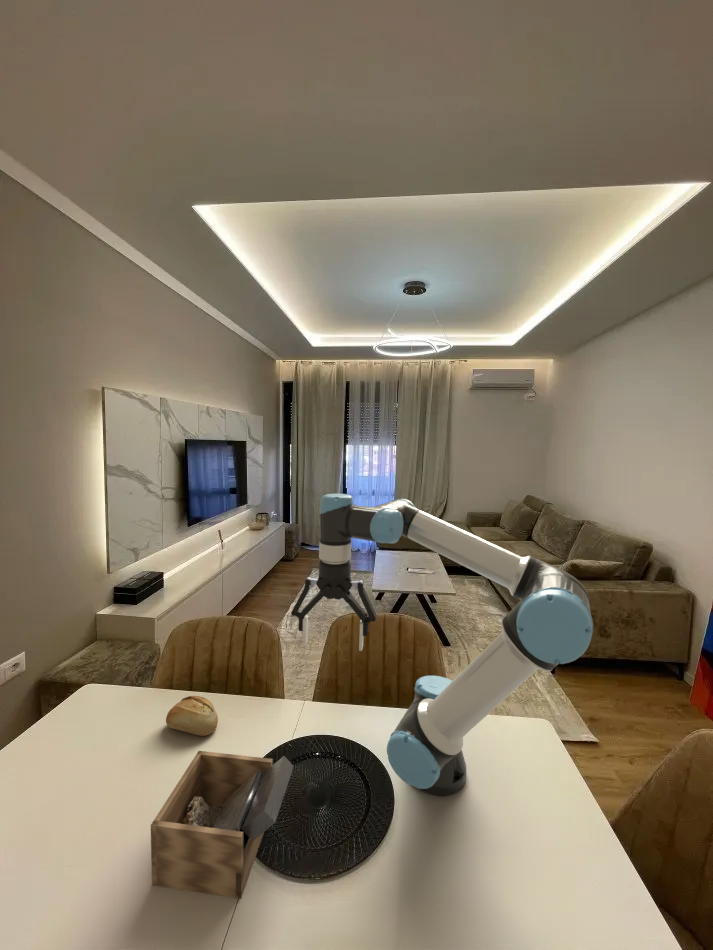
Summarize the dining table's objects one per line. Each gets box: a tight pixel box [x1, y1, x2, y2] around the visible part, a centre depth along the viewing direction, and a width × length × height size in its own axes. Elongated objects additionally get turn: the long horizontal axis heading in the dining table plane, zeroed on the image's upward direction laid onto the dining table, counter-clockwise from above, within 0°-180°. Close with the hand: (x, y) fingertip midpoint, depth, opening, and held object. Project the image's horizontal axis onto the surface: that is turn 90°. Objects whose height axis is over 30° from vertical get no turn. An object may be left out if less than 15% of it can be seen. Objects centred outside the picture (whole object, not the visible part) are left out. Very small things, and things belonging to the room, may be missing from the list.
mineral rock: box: [182, 796, 211, 827], centre depth 84 cm, size 11×4×8 cm
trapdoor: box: [212, 755, 295, 841], centre depth 83 cm, size 17×14×4 cm
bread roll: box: [165, 695, 219, 737], centre depth 116 cm, size 10×15×8 cm, turn 80°
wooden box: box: [150, 750, 274, 899], centre depth 84 cm, size 17×18×12 cm
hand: (333, 645), depth 100 cm, fingers open, 13 cm apart
